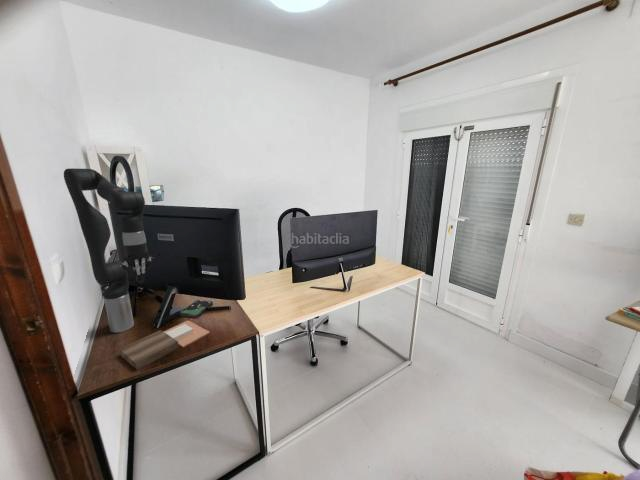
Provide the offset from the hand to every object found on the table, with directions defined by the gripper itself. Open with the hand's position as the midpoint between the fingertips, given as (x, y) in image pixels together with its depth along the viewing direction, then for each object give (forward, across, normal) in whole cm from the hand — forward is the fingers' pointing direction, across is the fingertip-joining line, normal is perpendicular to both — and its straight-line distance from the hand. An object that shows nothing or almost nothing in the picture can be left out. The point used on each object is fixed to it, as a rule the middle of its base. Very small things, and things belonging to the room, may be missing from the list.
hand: (141, 282), depth 106 cm
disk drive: (+30, -28, -9) cm, 42 cm away
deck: (+29, +3, +6) cm, 30 cm away
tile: (+28, -10, +6) cm, 31 cm away
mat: (+29, -12, +6) cm, 32 cm away
